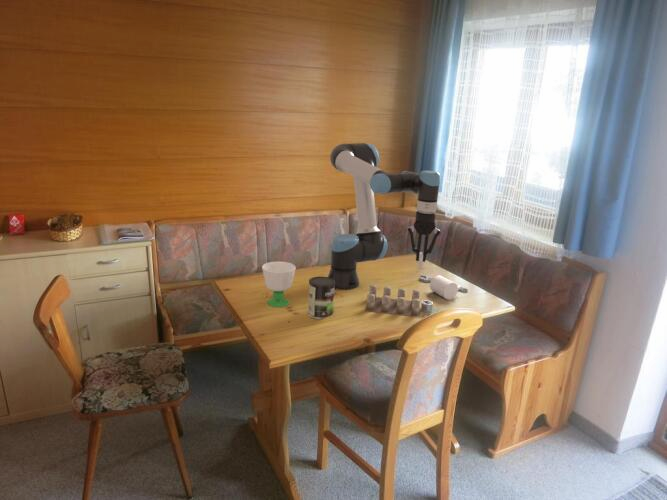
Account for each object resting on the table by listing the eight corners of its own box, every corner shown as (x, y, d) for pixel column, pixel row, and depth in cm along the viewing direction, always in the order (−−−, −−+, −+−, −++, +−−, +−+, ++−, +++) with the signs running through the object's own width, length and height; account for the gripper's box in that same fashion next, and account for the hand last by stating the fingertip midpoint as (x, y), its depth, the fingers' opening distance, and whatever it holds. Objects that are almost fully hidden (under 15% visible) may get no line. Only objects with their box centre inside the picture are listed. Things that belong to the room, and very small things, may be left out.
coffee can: (338, 313, 194) (340, 280, 190) (324, 322, 186) (326, 287, 182) (317, 306, 199) (318, 274, 195) (302, 314, 191) (303, 281, 187)
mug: (442, 301, 212) (445, 283, 209) (428, 292, 220) (430, 276, 218) (463, 297, 217) (466, 280, 215) (449, 289, 225) (451, 273, 223)
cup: (281, 293, 210) (281, 259, 205) (301, 303, 201) (302, 268, 196) (254, 301, 201) (254, 265, 196) (275, 312, 192) (275, 275, 187)
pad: (420, 315, 196) (421, 313, 196) (420, 308, 203) (420, 306, 202) (440, 317, 195) (441, 315, 195) (440, 310, 202) (440, 308, 201)
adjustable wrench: (468, 292, 224) (469, 289, 223) (461, 296, 220) (462, 292, 219) (423, 277, 240) (423, 273, 240) (415, 279, 236) (416, 276, 235)
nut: (421, 312, 197) (421, 304, 196) (420, 307, 202) (421, 299, 201) (432, 313, 196) (432, 305, 195) (431, 308, 201) (432, 300, 200)
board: (364, 313, 195) (365, 297, 193) (368, 298, 210) (369, 283, 208) (419, 319, 192) (421, 303, 190) (419, 303, 207) (421, 288, 205)
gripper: (409, 212, 185) (403, 270, 192) (443, 215, 183) (436, 273, 190) (409, 207, 192) (403, 264, 199) (442, 210, 190) (435, 267, 197)
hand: (419, 268), depth 195 cm, fingers closed
